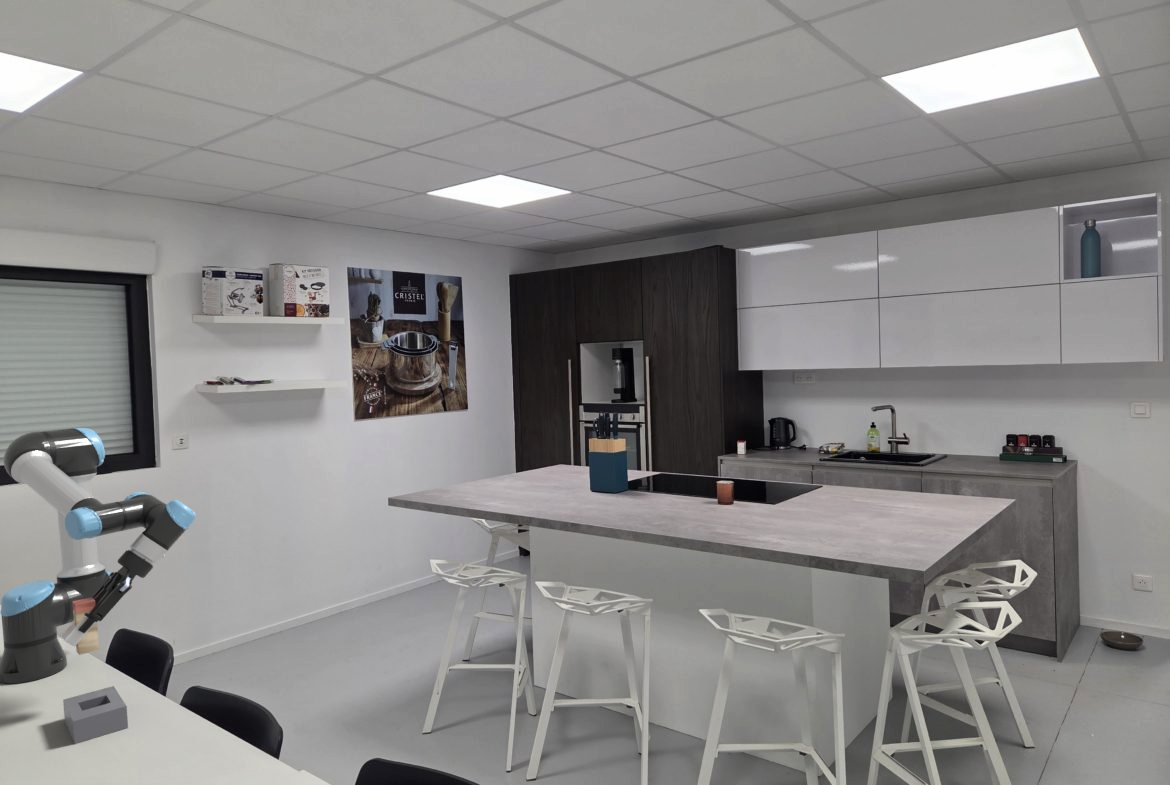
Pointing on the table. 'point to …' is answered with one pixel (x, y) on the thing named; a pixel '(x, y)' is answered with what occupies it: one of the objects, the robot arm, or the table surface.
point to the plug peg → (91, 637)
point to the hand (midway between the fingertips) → (67, 640)
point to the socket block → (95, 714)
